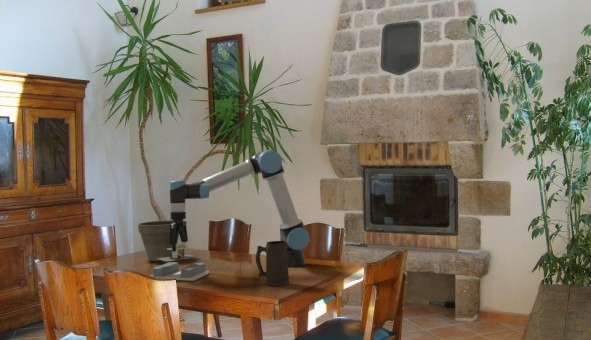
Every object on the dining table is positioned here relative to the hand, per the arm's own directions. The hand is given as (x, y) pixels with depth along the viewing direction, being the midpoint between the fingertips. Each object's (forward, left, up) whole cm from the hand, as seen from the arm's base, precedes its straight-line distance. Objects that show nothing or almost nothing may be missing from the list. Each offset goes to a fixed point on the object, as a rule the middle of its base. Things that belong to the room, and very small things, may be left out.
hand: (179, 256), depth 313 cm
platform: (0, +1, -1) cm, 1 cm away
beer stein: (-52, +10, -10) cm, 54 cm away
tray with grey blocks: (0, 0, -10) cm, 10 cm away
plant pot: (+34, -45, -10) cm, 57 cm away
